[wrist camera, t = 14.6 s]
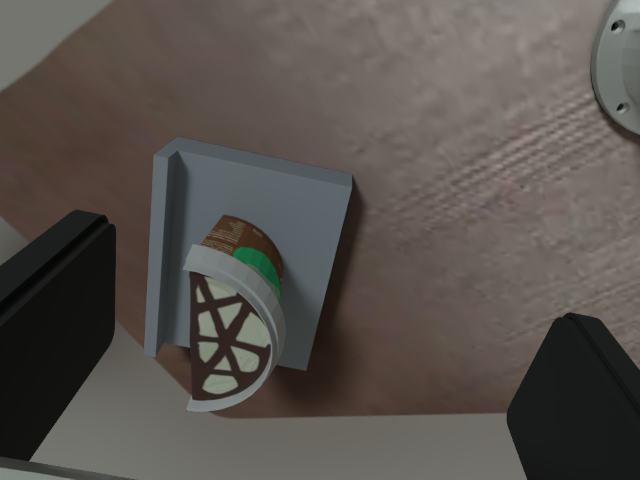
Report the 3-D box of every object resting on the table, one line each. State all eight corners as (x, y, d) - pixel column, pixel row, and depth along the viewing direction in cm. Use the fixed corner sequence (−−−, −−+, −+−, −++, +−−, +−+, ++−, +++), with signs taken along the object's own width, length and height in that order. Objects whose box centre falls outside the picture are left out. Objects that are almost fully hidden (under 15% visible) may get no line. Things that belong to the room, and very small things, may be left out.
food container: (291, 336, 42) (275, 427, 33) (221, 327, 42) (186, 416, 33) (304, 206, 36) (289, 273, 28) (223, 196, 37) (182, 260, 28)
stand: (352, 174, 38) (352, 197, 34) (308, 349, 46) (304, 386, 42) (177, 136, 38) (153, 155, 33) (164, 320, 46) (143, 355, 41)
